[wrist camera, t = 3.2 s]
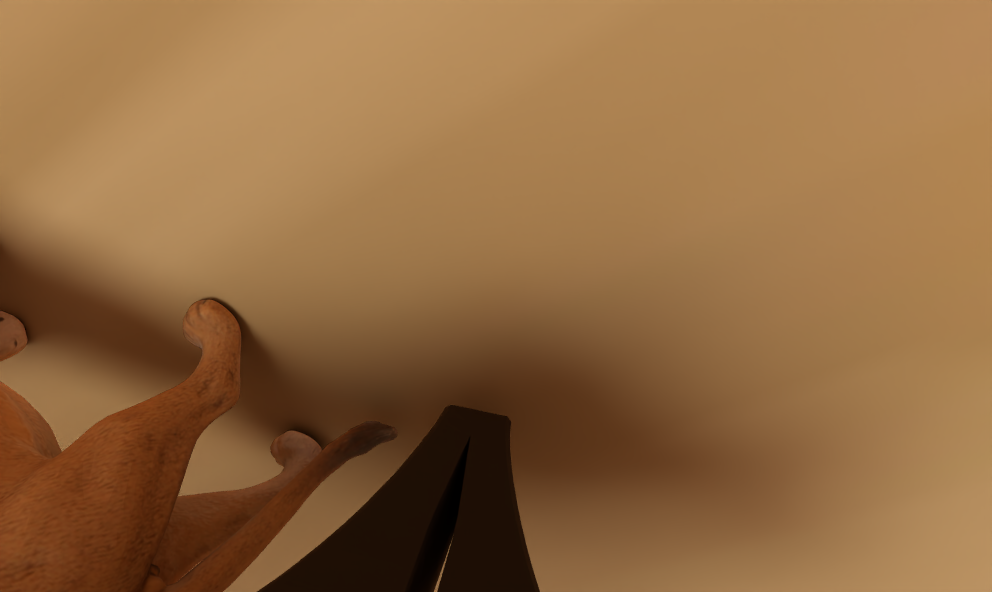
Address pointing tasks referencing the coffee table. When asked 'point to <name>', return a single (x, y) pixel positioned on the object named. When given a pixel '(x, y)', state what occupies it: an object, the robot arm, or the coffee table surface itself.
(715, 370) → the coffee table surface
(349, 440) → the lion figurine
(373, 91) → the coffee table surface
